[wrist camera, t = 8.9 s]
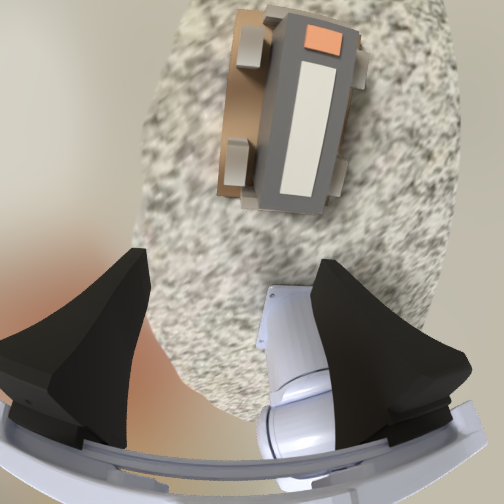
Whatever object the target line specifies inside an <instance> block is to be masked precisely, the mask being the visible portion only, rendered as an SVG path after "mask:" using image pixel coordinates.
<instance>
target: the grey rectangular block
mask: <svg viewBox="0 0 504 504" xmlns="http://www.w3.org/2000/svg"><path fill="white" fill-rule="evenodd" d="M358 37H359V31H356V30H353V29H350V28H347V27H344V26H341V25H338V24H334V23H331V22H327V21H324V20H320V19H316V18H312V17H308V16H303V15H299V14H294V13H289V12H288V13H287V15H286V16H285V17H284V18H283V19H282V21H281V22H280V23H279V24H278V25H277V27H276V28H275V29H274V30H273V32H272V39H271V46H270V53H269V60H268V66H267V73H266V80H265V87H264V94H263V101H262V109H261V116H260V123H259V130H258V137H257V145H256V152H255V160H254V167H253V175H252V177H253V182H254V187H255V192H256V197H257V201H258V206H259V209H269V210H280V211H290V212H300V213H310V214H319V215H322V213H323V209H324V205H325V201H326V197H327V193H328V189H329V185H330V181H331V177H332V173H333V169H334V165H335V160H336V156H337V152H338V147H339V143H340V138H341V133H342V129H343V124H344V119H345V114H346V109H347V104H348V99H349V93H350V88H351V82H352V76H353V70H354V64H355V58H356V51H357V44H358Z"/></svg>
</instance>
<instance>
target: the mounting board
mask: <svg viewBox="0 0 504 504" xmlns="http://www.w3.org/2000/svg"><path fill="white" fill-rule="evenodd" d="M288 12H289V13H294V14H299V15H303V16H308V17H312V18H316V19H320V20H324V21H327V22H331V23H334V24H338V25H341V26H344V27H347V28H351V24H349V23H346V22H343V21H339V20H336V19H333V18H329V17H325V16H322V15H318V14H314V13H310V12H305V11H301V10H296V9H291V8H286V7H280V6H274V5H267V8H266V10H265V12H262V11H254V10H244V9H237V16H236V22H235V29H234V36H233V43H232V50H231V58H230V66H229V74H228V82H227V91H226V100H225V109H224V119H223V129H222V139H221V151H220V162H219V175H218V188H217V196H230V197H240V199H241V209H253V210H266V211H277V212H288V213H299V214H309V215H314V214H310V213H300V212H290V211H280V210H269V209H259V206H258V201H257V197H256V192H255V187H254V182H253V177H252V175H253V167H254V160H255V152H256V145H257V137H258V130H259V123H260V116H261V109H262V101H263V94H264V87H265V80H266V73H267V66H268V60H269V53H270V46H271V39H272V32H273V30H274V29H275V28H276V27H277V25H278V24H279V23H280V22H281V21H282V19H283V18H284V17H285V16H286V15H287V13H288ZM360 41H361V35H359V37H358V44H357V51H356V58H355V64H354V70H353V76H352V82H351V88H350V93H349V99H348V104H347V109H346V114H345V119H344V124H343V129H342V133H341V138H340V143H339V147H338V152H337V156H336V160H335V165H334V169H333V173H332V177H331V181H330V185H329V189H328V193H327V197H326V201H325V205H324V206H327V204H328V201H329V197H330V196H336V197H340V194H341V190H342V187H343V183H344V179H345V175H346V171H347V167H348V163H349V161H348V160H346V159H345V158H344V157H342V156H341V155H340V151H341V146H342V142H343V137H344V133H345V128H346V123H347V118H348V113H349V108H350V103H351V97H352V92H353V88H354V89H362V90H364V87H365V82H366V76H367V70H368V63H369V57H370V54H369V53H367V52H364V51H361V50H359V48H360Z"/></svg>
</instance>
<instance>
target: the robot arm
mask: <svg viewBox="0 0 504 504" xmlns="http://www.w3.org/2000/svg"><path fill="white" fill-rule="evenodd" d="M150 291H151V282H150V276H149V269H148V261H147V253H146V249H144V248H131V249H130V250H129V251H128V252H127V253H126V254H125V255H123V256H122V257H121V258H120V259H119V260H118V261H117V262H116V263H115V264H114V265H113V266H112V267H111V268H109V269H108V270H107V271H106V272H105V273H104V274H103V275H102V276H101V277H100V278H99V279H98V280H96V281H95V282H94V283H93V284H92V285H91V286H89V287H88V288H87V289H86V290H85V291H83V292H82V293H81V294H80V295H78V296H77V297H76V298H75V299H73V300H72V301H70V302H69V303H68V304H66V305H65V306H64V307H62V308H60V309H59V310H58V311H56V312H54V313H53V314H51V315H50V316H48V317H47V318H45V319H43V320H42V321H40V322H38V323H36V324H35V325H33V326H31V327H29V328H27V329H25V330H23V331H21V332H19V333H16V334H14V335H12V336H9V337H7V338H5V339H3V340H0V389H1V390H3V392H5V393H6V394H7V395H8V396H9V397H10V398H11V399H12V400H13V402H12V406H10V405H8V404H7V403H5V402H3V401H1V400H0V466H1V467H2V468H4V469H5V470H6V471H8V472H9V473H11V474H13V475H14V476H15V477H17V478H19V479H20V480H22V481H23V482H25V483H27V484H28V485H30V486H32V487H33V488H35V489H37V490H39V491H40V492H42V493H44V494H46V495H48V496H50V497H51V498H54V499H56V500H57V501H59V502H61V503H64V504H396V503H398V502H399V501H402V500H403V499H405V498H407V497H409V496H411V495H413V494H415V493H417V492H418V491H420V490H422V489H423V488H425V487H427V486H429V485H430V484H432V483H434V482H435V481H437V480H438V479H440V478H441V477H443V476H444V475H446V474H447V473H449V472H450V471H452V470H453V469H454V468H456V467H457V466H459V465H460V464H461V463H463V462H464V461H466V460H467V459H468V458H470V457H471V456H473V455H474V454H475V453H477V452H478V451H479V450H481V449H482V448H484V447H485V446H486V445H487V444H488V442H487V439H486V436H485V433H484V430H483V428H482V425H481V422H480V420H479V417H478V415H477V412H476V410H475V407H474V405H473V403H472V400H469V401H467V402H464V403H462V404H461V405H458V406H456V407H454V408H453V409H451V410H450V409H449V407H448V405H449V404H450V403H451V398H450V396H449V395H450V394H451V393H452V392H454V391H455V390H456V389H457V388H458V387H459V386H460V385H461V384H463V383H464V382H465V380H467V378H468V377H469V376H470V374H471V372H472V367H471V365H470V363H469V361H468V359H467V357H466V355H465V354H464V353H463V352H461V351H459V350H456V349H454V348H452V347H449V346H447V345H445V344H443V343H441V342H439V341H437V340H435V339H433V338H431V337H430V336H428V335H426V334H424V333H422V332H421V331H420V330H418V329H416V328H415V327H413V326H412V325H410V324H409V323H407V322H406V321H404V320H403V319H402V318H400V317H399V316H398V315H396V314H395V313H394V312H392V311H391V310H390V309H389V308H387V307H386V306H385V305H384V304H383V303H382V302H380V301H379V300H378V299H377V298H376V297H375V296H374V295H373V294H371V293H370V292H369V291H368V290H367V289H366V288H365V287H364V286H363V285H362V284H361V283H360V282H359V281H358V280H357V279H355V278H354V277H353V276H352V275H351V274H350V273H349V272H348V271H347V270H346V269H345V268H344V267H343V266H342V265H341V264H339V263H338V262H337V261H336V260H331V259H322V260H321V263H320V266H319V269H318V272H317V275H316V278H315V281H314V284H313V286H284V285H272V286H270V287H269V288H268V291H267V295H266V300H265V305H264V309H263V314H262V318H261V323H260V327H259V332H258V336H257V341H256V347H257V348H259V349H265V354H266V362H267V370H268V378H269V387H270V392H271V393H270V394H269V398H270V405H267V406H265V407H264V408H263V409H262V411H261V413H260V415H259V417H258V420H257V427H256V428H257V429H256V430H257V431H256V432H257V441H258V446H259V449H260V452H261V455H262V457H263V459H264V460H241V461H223V460H198V459H185V458H175V457H166V456H159V455H152V454H145V453H140V452H134V451H129V450H124V449H125V448H126V447H127V440H126V419H127V399H128V389H129V379H130V372H131V365H132V359H133V355H134V350H135V347H136V343H137V340H138V337H139V334H140V330H141V327H142V324H143V320H144V317H145V314H146V310H147V307H148V302H149V296H150ZM271 294H273V295H271ZM119 468H120V469H126V470H130V471H135V472H140V473H145V474H151V475H158V476H165V477H173V478H182V479H194V480H213V481H216V480H217V481H244V480H246V481H247V480H265V479H276V481H277V483H278V484H279V486H280V489H282V490H283V491H286V492H288V493H280V494H269V495H255V496H196V495H182V494H171V493H169V486H168V485H166V484H163V483H159V482H157V481H156V480H155V479H154V478H149V477H144V476H140V475H136V474H132V473H129V472H125V471H121V470H120V469H119Z"/></svg>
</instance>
